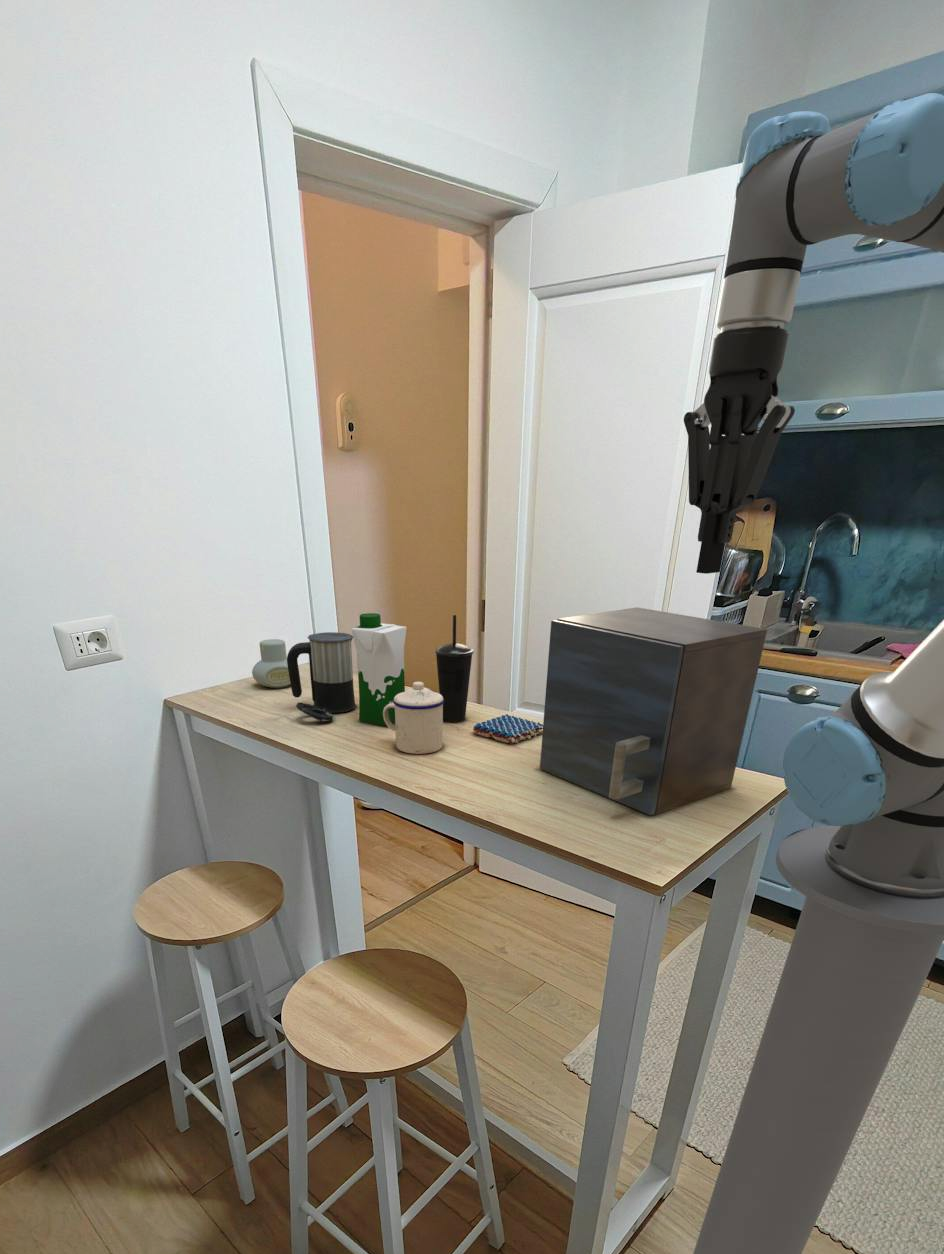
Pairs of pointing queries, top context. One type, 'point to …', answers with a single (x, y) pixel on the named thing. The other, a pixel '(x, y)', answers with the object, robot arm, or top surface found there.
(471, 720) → the top surface
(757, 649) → the cupboard
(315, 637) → the milk frother
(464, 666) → the drinking cup
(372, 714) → the milk carton
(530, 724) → the woven mat
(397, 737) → the teacup with lid
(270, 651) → the air freshener
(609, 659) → the cupboard door
